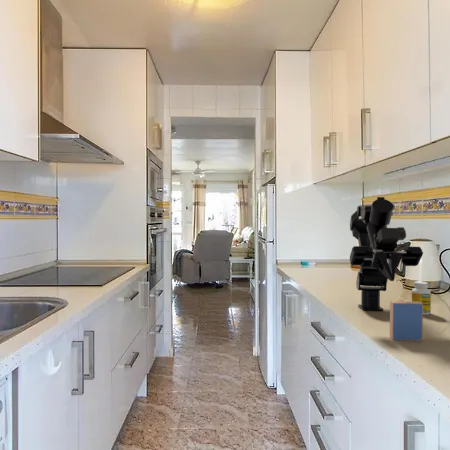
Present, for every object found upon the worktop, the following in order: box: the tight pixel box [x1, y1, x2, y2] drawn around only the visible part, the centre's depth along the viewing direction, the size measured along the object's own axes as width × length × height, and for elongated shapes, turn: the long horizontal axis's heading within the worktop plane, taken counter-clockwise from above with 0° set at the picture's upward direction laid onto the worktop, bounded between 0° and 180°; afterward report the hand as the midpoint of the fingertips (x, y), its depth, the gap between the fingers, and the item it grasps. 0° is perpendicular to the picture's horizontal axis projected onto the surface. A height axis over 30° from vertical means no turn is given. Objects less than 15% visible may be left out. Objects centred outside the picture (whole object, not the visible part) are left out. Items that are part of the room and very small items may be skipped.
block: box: [389, 300, 424, 342], centre depth 96 cm, size 2×7×9 cm, turn 86°
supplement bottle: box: [411, 281, 432, 316], centre depth 124 cm, size 5×5×10 cm
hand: (392, 280), depth 106 cm, fingers closed
